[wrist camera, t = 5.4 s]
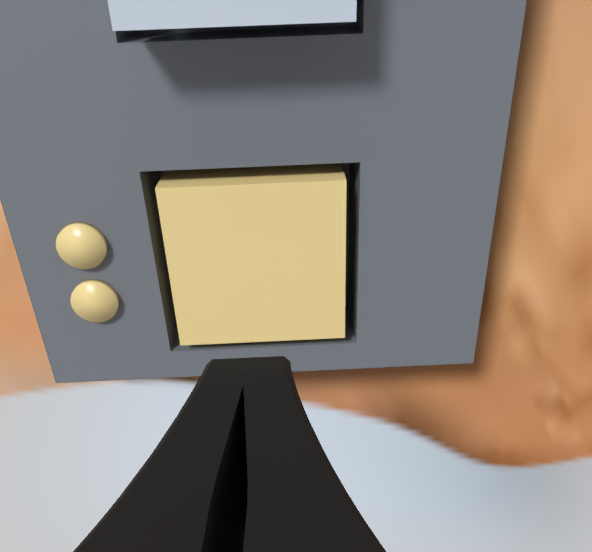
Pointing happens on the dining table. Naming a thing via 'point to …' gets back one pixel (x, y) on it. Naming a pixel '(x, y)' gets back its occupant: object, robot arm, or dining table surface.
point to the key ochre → (255, 252)
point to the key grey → (225, 13)
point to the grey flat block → (255, 153)
